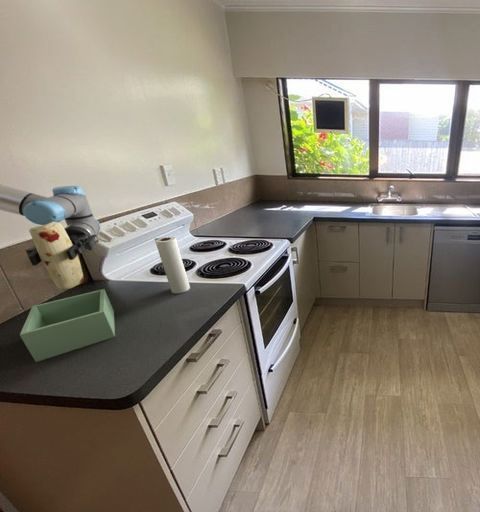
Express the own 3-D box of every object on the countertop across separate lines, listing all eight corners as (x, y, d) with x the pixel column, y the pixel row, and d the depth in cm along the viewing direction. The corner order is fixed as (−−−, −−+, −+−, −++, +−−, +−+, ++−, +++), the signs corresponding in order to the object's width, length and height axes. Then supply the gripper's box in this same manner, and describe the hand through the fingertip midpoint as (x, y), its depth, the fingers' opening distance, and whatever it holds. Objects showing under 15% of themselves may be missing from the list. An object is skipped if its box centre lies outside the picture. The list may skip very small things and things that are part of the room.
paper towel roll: (191, 290, 113) (176, 239, 104) (173, 295, 109) (156, 242, 101) (188, 284, 118) (173, 234, 109) (170, 288, 114) (154, 237, 106)
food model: (78, 290, 87) (49, 226, 79) (49, 294, 84) (15, 229, 77) (93, 276, 95) (68, 218, 87) (67, 280, 93) (38, 220, 85)
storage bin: (45, 330, 89) (32, 306, 86) (114, 311, 99) (104, 288, 95) (35, 362, 77) (19, 334, 73) (114, 336, 86) (103, 311, 83)
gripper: (117, 241, 106) (102, 262, 88) (40, 251, 96) (6, 278, 78) (109, 221, 103) (93, 239, 85) (29, 230, 93) (-8, 252, 75)
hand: (51, 258), depth 81 cm, fingers closed on food model, 7 cm apart
